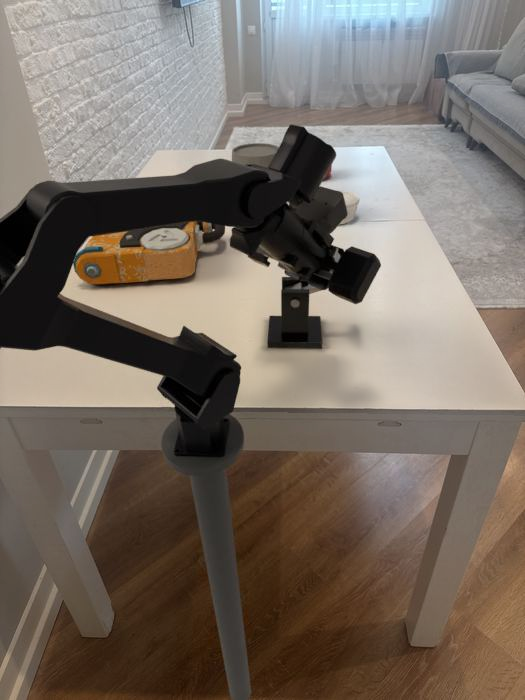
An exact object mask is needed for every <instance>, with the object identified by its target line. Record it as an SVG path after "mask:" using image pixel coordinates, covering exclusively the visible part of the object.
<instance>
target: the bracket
mask: <svg viewBox="0 0 525 700" xmlns="http://www.w3.org/2000/svg"><path fill="white" fill-rule="evenodd" d="M300 282H301V284H302V286H303V287H305V286H309V284H308V282H309V281H299V280H297V279H294V278H292V277H290V276H282V277H281V289H280V306H281V307H280V312H281V313H280V315H269V318H268V329H267V341H266V344H267V345H266V346H267V349H323V334H322V321H321V318H322V317H321V315H310V294H309V289H285V287H287V286H291V285H294V284H297V283H300Z"/></svg>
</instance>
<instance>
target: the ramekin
mask: <svg viewBox="0 0 525 700" xmlns="http://www.w3.org/2000/svg"><path fill="white" fill-rule="evenodd" d="M338 191H339V192H342V193H343V196H344V200H345V204H346V208H347V212H348V215H347V217H346V218H345V219H343V220H342V221H341V223H340V224H339V225H346V224H349V223H350V222H352V221H353V219H354V218H355V216H356V213H357V209H358V205H359V203H360V197H359V196H358V195H357V194H355V193H354V192H350V191H345V190H338Z"/></svg>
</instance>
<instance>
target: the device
mask: <svg viewBox="0 0 525 700" xmlns="http://www.w3.org/2000/svg"><path fill="white" fill-rule="evenodd" d="M225 233H226V226H223V225H217V224H212V223H206V222H188V223H182V224H175V225H168V226H161V227H154V228H147V229H140V230H133V231H126V232H119V233H112V234H105V235H98V236H91V237H90V239H88V241H87V243H86V245H85V246H84V247H83V248H82V249H81V250H80V251H77V254H76V257H75V259H74V262H73V265H72V266H73V269H74V272H75V274H76V275H77V276H78V278H79V279H80V280H82V281H84V282H86V283H87V284H91V285H95V286H96V285H97V286H98V285H99V286H100V285H111V284H125V283H139V282H142V283H143V282H148V281H159V280H176V279H184V278H187V277H190V276H192V275H193V274H194V273H195V271H196V263H197V260H198V253H199V252H200V251H201V246H204V244H209V243H214V242H216V241H218V240H221V239H222V238H223V237H224V235H225Z"/></svg>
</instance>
